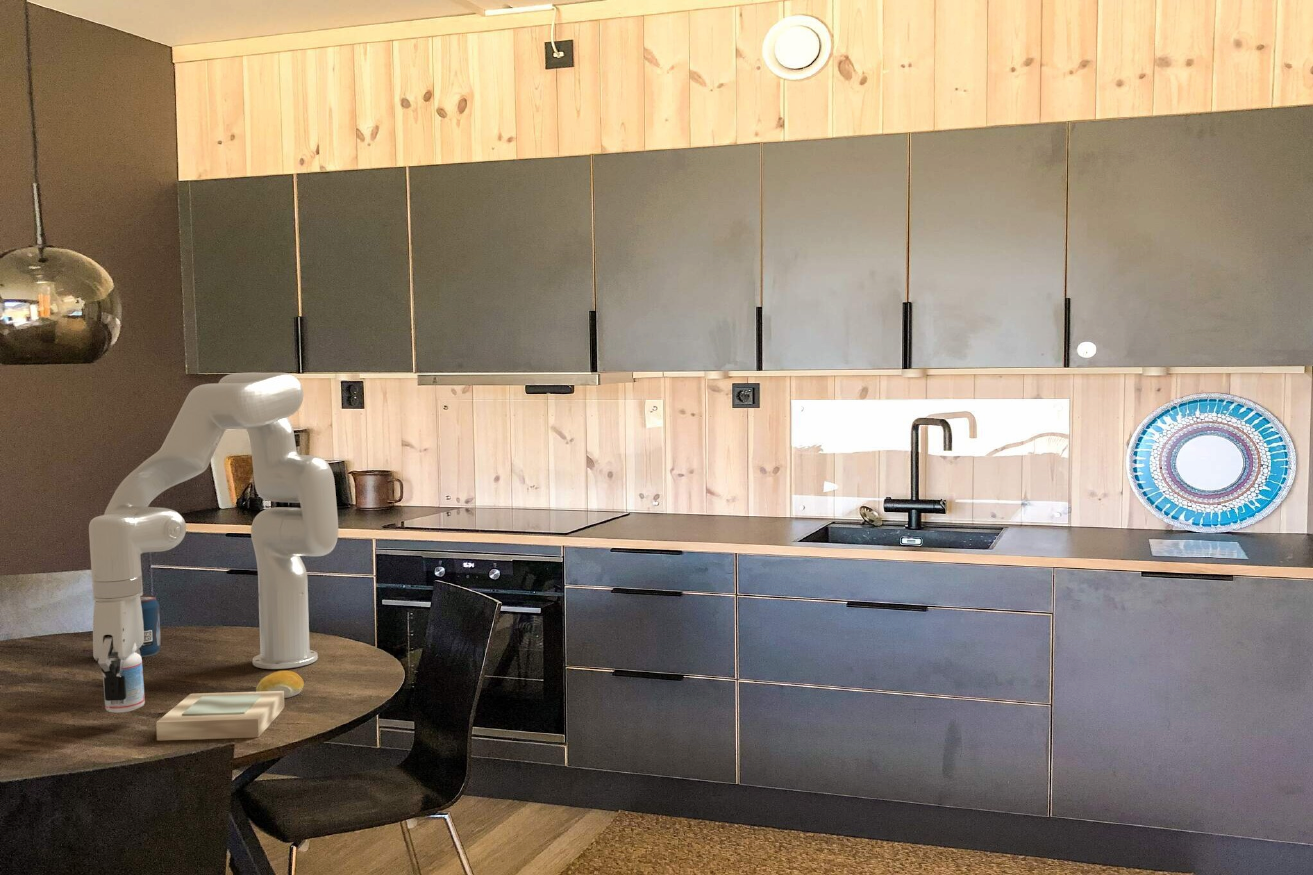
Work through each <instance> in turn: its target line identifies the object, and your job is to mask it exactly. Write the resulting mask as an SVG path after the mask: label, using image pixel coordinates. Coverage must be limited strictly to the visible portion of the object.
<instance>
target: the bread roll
mask: <svg viewBox="0 0 1313 875" xmlns="http://www.w3.org/2000/svg"><path fill="white" fill-rule="evenodd" d="M304 685H305V682H304V679H303V678H302V677H301V676H300V675H299V674H298V673H297V672H294V671H291V670H278V671H274V672H272V673H269V674H268V675H266V676H264V677H263V678H261V680H260V681H259V682H258V684H257V685H256V688H255V692H264V691H284V699H289V698H292V697H295V696H297V695H299V694H300V693H301V692H302V690H303V688H304V687H305V686H304Z"/></svg>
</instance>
